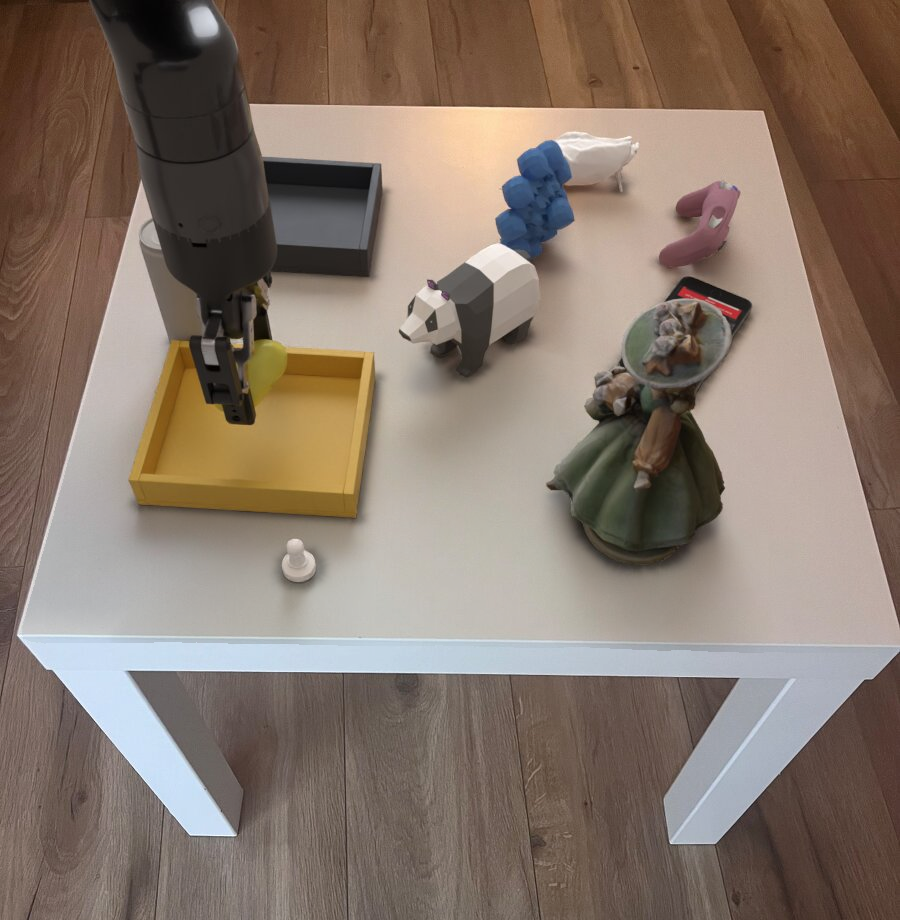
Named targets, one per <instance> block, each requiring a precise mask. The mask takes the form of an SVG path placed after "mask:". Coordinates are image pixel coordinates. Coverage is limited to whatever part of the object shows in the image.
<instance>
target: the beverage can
mask: <svg viewBox="0 0 900 920" xmlns="http://www.w3.org/2000/svg"><path fill="white" fill-rule="evenodd" d="M137 235H138V238H139V241H138V245H139V247H140V251H141V254H142V258H143V260H144V264H145V266H146V267H145V268H146V270H147V273H148V276H149V279H150V283H151V286H152V289H153V292H154V293H153V294H154V297H155V299H156V302H157V305H158V309H159V312H160V315H161V319H162V322H163V326H164V328H165V331H166V335H167V338H168V341H169V345H170V344H171V341H172V340H180V341H190V338H191V336H192V335H199V336H202V333H201V320H200V318H199V317H198V315H197V310H196V293H195V292H194V291H192V290H191V289H190V288H188V287H187V286H185V285H183V284H182V283H180V282H179V281H178V280H176V279H175V278H174V277H173V276H172V274H171V273H170V272H169V270H168V268H167V266H166V263H165V260H164V256H163V253H162V249H161V246H160V242H159V239H158V236H157V232H156V229H155V225H154V222H153V218H152V217H150V218H148V219H147V220H145V221H144V222H143V223H142V224H141V225H140V228H139V229H138V234H137Z"/></svg>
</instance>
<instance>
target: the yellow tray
mask: <svg viewBox="0 0 900 920" xmlns="http://www.w3.org/2000/svg"><path fill="white" fill-rule="evenodd" d="M231 344H232V345H233V346H234V348H241V347H243V343H231ZM284 348H285V349H286V352H287V366H286V369H285V371H284V373H283V374H282V376H281V377H280V378H279V379H278V380H277V381H276V383H275V384H274V387H273V388H271V389H270V390H269V392H268V393H267V394H266V396H265V397H264V399H263V400H262V401H261V403H260V404H259V405H257V406H256V407H254V408H255V412H256V418H255V423H254V424H253V425H237V424H229V423H228V422H227V421H226V418H225V415H224V412H223V411H220V410H218V409H217V408H216V406H215V405H214V404H206V402H205V398H204V395H203V391H202V388H201V385H200V381H199V378H198V374H197V371H196V368H195V364H194V361H193V357H192V354H191V351H190V347H189V341H180V340H172V341H171V344H170V343H169V348H168V351H167V355H166V357H165V361H164V364H163V367H162V369H161V373H160V377H159V379H158V380H159V381H158V383H157V386H156V390H155V393H154V396H153V399H152V402H151V406H150V409H149V412H148V414H147V415H148V416H147V419H146V422H145V425H144V428H143V432H142V435H141V439H140V441H139V445H138V449H137V451H136V454H135V457H134V461H133V464H132V467H131V470H130V473H129V477H128V480H127V481H128V483H129V485H130V487H131V489H132V492H133V494H134V496H135V499H136V501H137V503H138V505H144V506H160V507H176V508H192V509H209V510H225V511H240V512H256V513H271V514H273V513H274V514H288V515H290V514H291V515H302V516H303V515H305V516H321V517H339V518H351V519H352V518H354V519H355V518H357V515H358V507H359V499H360V492H361V485H362V484H361V483H362V478H363V470H364V463H365V455H366V449H367V442H368V435H369V428H370V419H371V412H372V405H373V398H374V390H375V385H376V363H375V362H376V361H375V352H374V351H363V350H362V351H360V350H344V349H328V348H327V349H326V348H325V349H324V348H311V347H296V346H294V347H293V346H284Z"/></svg>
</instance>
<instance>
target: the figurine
mask: <svg viewBox="0 0 900 920" xmlns="http://www.w3.org/2000/svg"><path fill="white" fill-rule="evenodd" d="M663 302H664V301H663ZM663 302H661V303H658V304H656V305H654V306H652V307H650V308H649V309H647V310H645V311H643V312H641V313H640V314H638V316H636V317H635V318H634V319H633V320H632V321H631V323H630V324H629V325H628V326H627V328H626V330H625V331H624V333H623V337H622V341H621V348H620V356H621V358H622V360H623V364H624V366H625V368H626V369H625V368H624V367H621V366H618V365H613V366H612V367H611V368H609V370H608V371H604V370H602V371H599V372H596V374H594V385H595V388H594V390H593V392H592V396H591V397H589V398H587V399H586V401H585V403H584V409H585V412H586V413H587V415H589V417H590V418H591V419H592V420H593V421H596V422H597V421H598V423H597V424H596V425H595V426H594V427H593V429H591V431H590V432H589V433H588V434H587V435H586V436H585V437H583V439H582V440H581V441H580V442H579V443H577V445H576V446H575V447H574V448H573V449H572V450H571V451H570V452H569V453H568V454H567V455H566V456H565V457H564V458H563V459H562V460H561V461H560V462H559V463H558V464H556V466H555V467H554V469H553V475H554V477H553V478H552V479H550V481H547V482H546V483H545V486H546V487H547V488H548V489H549V490H550V491H555V492H556V491H557V492H558V491H564V493H566V495H568V497H569V498H570V502H571V504H570V509H569V511H570V515H571V517H572V518H574V519H575V520H578V521H580V522H581V523H582V526H583V529H584V532H585V534H586V536H587V538H588V540H589V541H590V543H591V544H592V545H593V546H594V547H595V548H596V549H597V550H598V551H599V552H601V553H602V554H605V555H607V556H608V558H610V559H611V560H613V561H616V562H619V563H624V564H630V565H633V566H641V565H642V566H648V565H652V564H654V563H657V562H662V561H665V560H666V559H668V558H669V557H671V556H672V555H673V554H674V553H675V551H676V550H677V549H679V548H680V547H681V546H682V545H686V544H688V543H690V542H691V541H692V540H693V539H694V537H696V531H697V530H699V529H701V527H704V526H706V525H708V524H710V523H711V522H713V521H714V520H716V519H717V518H718V517H719V516H720V514H721V513H722V511H723V509H724V506H723V505H724V504H723V502H722V494H723V493H724V491H725V489H726V486H725V485H724V484H725V481H724V477H723V472H722V470H721V468H720V465H719V462H718V460H717V458H716V455H715V453H714V452H713V450H712V448H711V447H710V446H709V444H708V442H707V441H706V438H705V436H704V433H703V431H702V429H701V428H700V426H699V424H698V422H697V420H696V419H695V417H694V414H693V413H692V412H691V411H692V410H694V409H695V407H696V396H695V394H696V392H695V390H696V386H697V381H700V380H702V379H704V378H705V379H706V378H707V377H708V376H710V375H711V374H713V373H714V372H715V371H716V370H717V369H718V367H719V366H720V365H721V364H722V363H723V362H724V361H725V359H726V357H727V355H728V353H729V352H730V351H729V350H730V348H731V345H732V342H733V337H732V334H731V329H730V324H729V323H728V321H727V320H726V318H725V317H724V316H723V315H722V312H721V310H719V309H718V308H717V307H715V306H714V305H712V304H710V303H707V302H705V301H703V300H697V299H685V298H684V299H675V300H670V301H667V302H664V303H663ZM626 370H627V371H626ZM627 372H628V373H627ZM705 379H704V380H705Z"/></svg>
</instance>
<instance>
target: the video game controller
mask: <svg viewBox="0 0 900 920" xmlns="http://www.w3.org/2000/svg"><path fill="white" fill-rule="evenodd" d="M740 197H741V190H739V188H738V187H737V186H736V185H733V184H732V183H731V182H725V179H724V178H722V179H721V180H717V181H716V180H715V181H714V182H712V183H710V184H708V185H707V186H705V187H702V188H701V189H697V190H694V191H691V192H689V193H687V194H685V195H683V196H682V197H681V198H680V199H679V200H678V201H677V202H676V205H675V211H676V213H677V215H678V216H680V217H683V218H689V219H690V218H692V219H693V218H700V220H699V221H698V224H697V225H696V226H695V227H696V228H695V230H694V232H692V233H690V234H689V235H688V236H686V237H683V238H681V239H678V240H676V241H674V242H671V243H669V244H667V245H666V246H664V247H663V248H662V249H661V250H660V252H659V254H658V261H659V262H660V264H661V265H662V266H664V267H669V268H682V267H687V266H690V265H692V264H695V263H697V262H699V261H701V260H703V259H708V258H710V257H711V256H713V255H714V254H715V253H716V252H717V253H719V252H721V251H723V250H724V249H725V248H726V245H727V240H726V239H727V237H728V235H729V233H730V226H729V224H730V223H731V221H732V218H733V216H734V213H735V210H736V208H737V205H738V201H739V199H740Z"/></svg>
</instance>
